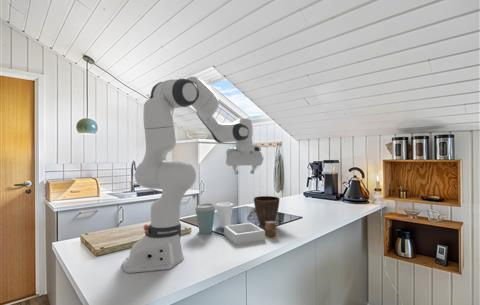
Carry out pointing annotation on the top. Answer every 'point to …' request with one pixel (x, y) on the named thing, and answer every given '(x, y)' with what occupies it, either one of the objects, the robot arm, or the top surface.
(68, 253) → the top surface
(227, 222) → the foam cup
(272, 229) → the walnut block
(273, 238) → the cork coaster
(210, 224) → the disposable coffee cup
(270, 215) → the plant pot
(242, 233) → the grey tub
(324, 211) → the top surface
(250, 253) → the top surface
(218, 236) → the top surface
